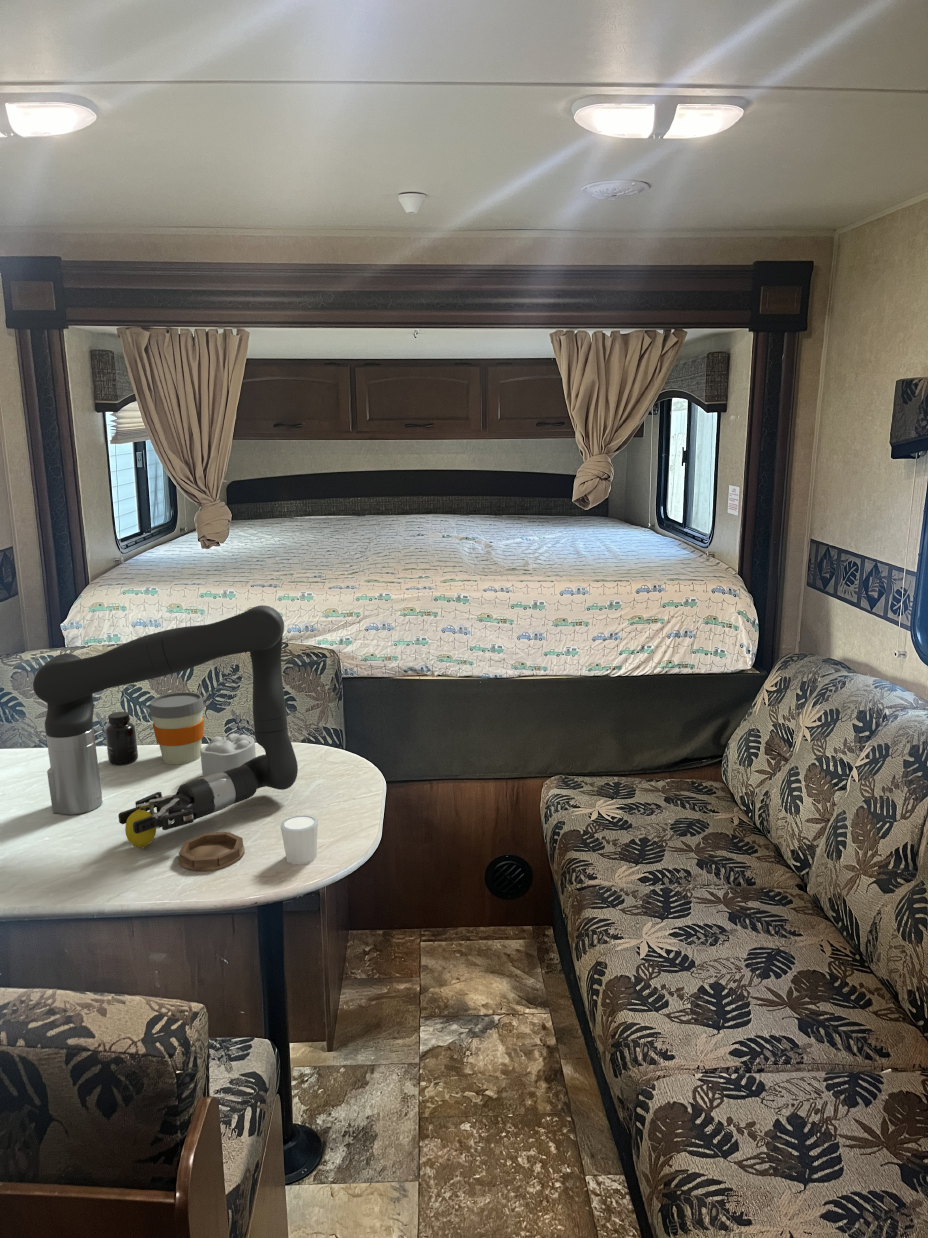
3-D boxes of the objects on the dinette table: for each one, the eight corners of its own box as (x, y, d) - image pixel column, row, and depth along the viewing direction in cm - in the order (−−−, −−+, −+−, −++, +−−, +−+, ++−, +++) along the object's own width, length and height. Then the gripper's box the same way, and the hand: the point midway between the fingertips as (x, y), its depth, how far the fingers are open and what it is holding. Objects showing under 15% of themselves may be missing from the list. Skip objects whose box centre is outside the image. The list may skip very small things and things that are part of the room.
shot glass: (324, 848, 165) (322, 814, 164) (314, 866, 158) (312, 831, 157) (289, 848, 166) (286, 814, 164) (278, 865, 159) (275, 830, 158)
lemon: (132, 842, 170) (127, 804, 168) (161, 840, 170) (157, 802, 168) (124, 856, 164) (119, 817, 163) (153, 854, 165) (149, 815, 163)
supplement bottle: (103, 765, 210) (97, 718, 207) (118, 755, 216) (113, 709, 214) (129, 766, 209) (123, 719, 206) (144, 756, 215) (138, 710, 213)
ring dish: (172, 873, 157) (171, 863, 157) (186, 842, 169) (185, 833, 168) (239, 869, 158) (238, 859, 158) (249, 838, 170) (248, 829, 170)
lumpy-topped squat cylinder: (196, 780, 199) (193, 745, 198) (232, 760, 211) (229, 726, 209) (233, 786, 195) (230, 750, 193) (267, 766, 207) (265, 731, 205)
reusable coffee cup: (153, 753, 217) (147, 696, 214) (205, 745, 222) (199, 689, 218) (157, 770, 206) (150, 710, 202) (211, 761, 210) (206, 702, 207)
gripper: (187, 769, 180) (107, 795, 168) (224, 787, 170) (142, 816, 158) (190, 803, 182) (111, 831, 170) (227, 823, 172) (146, 854, 160)
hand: (127, 823), depth 164 cm, fingers closed on lemon, 5 cm apart
